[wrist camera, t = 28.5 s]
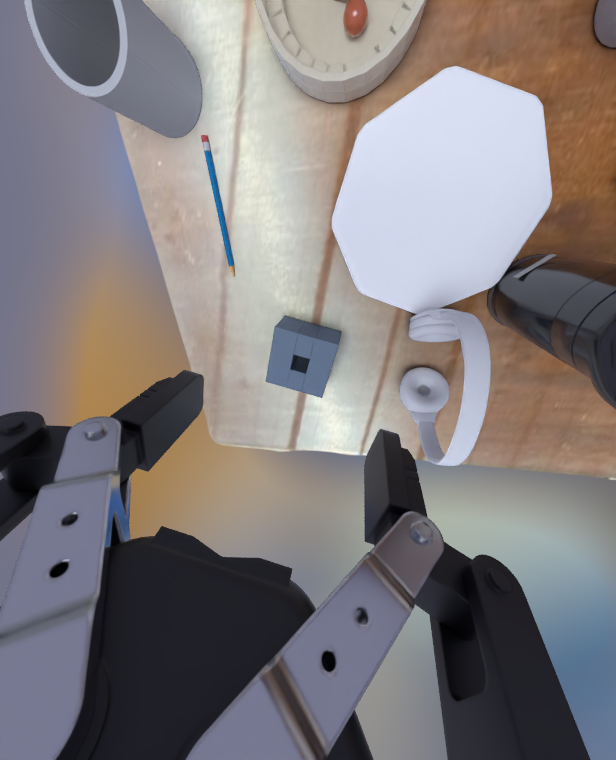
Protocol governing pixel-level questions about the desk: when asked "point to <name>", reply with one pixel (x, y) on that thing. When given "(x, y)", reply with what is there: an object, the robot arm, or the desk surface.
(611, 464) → the desk surface
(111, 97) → the cup
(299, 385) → the stand
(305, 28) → the bowl
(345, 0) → the stick
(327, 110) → the desk surface
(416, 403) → the headphones
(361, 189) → the plate
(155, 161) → the desk surface
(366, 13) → the bead terracotta
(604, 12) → the coffee cup
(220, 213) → the pencil
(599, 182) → the desk surface
